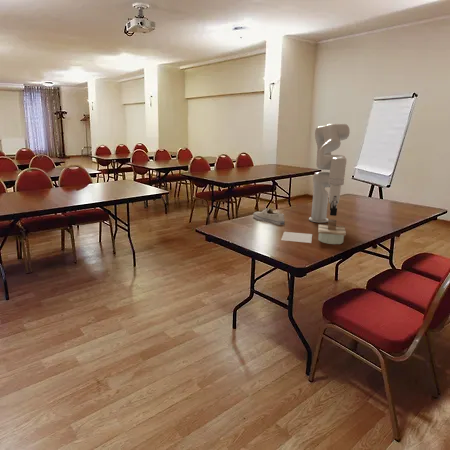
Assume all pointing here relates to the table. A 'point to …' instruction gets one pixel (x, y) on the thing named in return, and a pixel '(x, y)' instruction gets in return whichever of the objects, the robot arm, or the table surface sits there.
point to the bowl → (331, 238)
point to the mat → (297, 237)
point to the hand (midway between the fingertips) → (332, 212)
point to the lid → (331, 228)
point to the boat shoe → (270, 216)
